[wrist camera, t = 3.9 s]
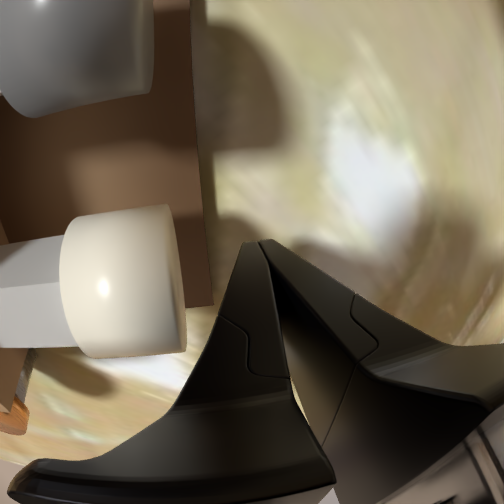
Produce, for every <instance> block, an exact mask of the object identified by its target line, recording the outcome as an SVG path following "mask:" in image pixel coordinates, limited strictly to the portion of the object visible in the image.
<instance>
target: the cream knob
mask: <svg viewBox="0 0 504 504" xmlns="http://www.w3.org/2000/svg"><path fill="white" fill-rule="evenodd" d="M76 346H79V348H80V349H81V350H82V351H83V352H84V353H85V354H86V355H87V356H89V357H90V358H94V359H101V358H119V357H135V356H148V355H160V354H171V353H181V352H185V351H186V347H187V327H186V313H185V302H184V292H183V283H182V275H181V267H180V259H179V252H178V246H177V239H176V234H175V228H174V223H173V218H172V214H171V211H170V208H169V206H168V204H163V205H155V206H147V207H140V208H133V209H125V210H119V211H112V212H105V213H99V214H92V215H86V216H80V217H76V218H75V219H73V220H72V221H71V223H70V224H69V226H68V228H67V230H66V232H65V235H60V236H53V237H47V238H41V239H35V240H29V241H23V242H17V243H12V244H6V245H0V348H45V347H76Z"/></svg>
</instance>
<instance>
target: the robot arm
mask: <svg viewBox="0 0 504 504" xmlns="http://www.w3.org/2000/svg"><path fill="white" fill-rule="evenodd" d="M289 372H290V374H289ZM290 375H291V378H292V380H293V383H294V386H295V388H296V391H297V393H298V396H299V399H300V401H301V404H302V407H303V409H304V412H305V415H306V417H307V420H308V422H309V424H308V422H307V420H306V419H305V417H304V415H303V413H302V411H301V410H300V408H299V406H298V404H297V402H296V400H295V397H294V394H293V390H292V385H291V381H290ZM309 425H310V426H309ZM332 488H334V490H335V493H336V495H337V498H338V501H339V503H340V504H504V343H503V344H491V345H478V346H454V345H449V344H446V343H443V342H441V341H439V340H437V339H435V338H433V337H431V336H429V335H427V334H425V333H424V332H422V331H420V330H418V329H416V328H414V327H412V326H411V325H409V324H407V323H405V322H403V321H401V320H399V319H398V318H396V317H394V316H392V315H391V314H389V313H387V312H385V311H384V310H382V309H380V308H379V307H377V306H375V305H374V304H372V303H371V302H369V301H367V300H366V299H364V298H363V297H361V296H360V295H358V294H355V292H354V291H352V290H351V289H349V288H348V287H346V286H344V285H343V284H341V283H340V282H338V281H337V280H335V279H334V278H332V277H331V276H329V275H328V274H326V273H325V272H323V271H321V270H320V269H318V268H317V267H315V266H314V265H312V264H311V263H309V262H308V261H306V260H305V259H303V258H301V257H300V256H298V255H297V254H295V253H294V252H292V251H291V250H289V249H287V248H286V247H284V246H283V245H281V244H280V243H278V242H276V241H275V240H273V239H266V240H260V241H258V242H257V241H250V242H244V243H242V246H241V249H240V251H239V254H238V257H237V260H236V263H235V266H234V269H233V272H232V274H231V277H230V280H229V283H228V286H227V289H226V292H225V295H224V298H223V301H222V303H221V306H220V309H219V312H218V316H217V317H216V320H215V323H214V326H213V329H212V331H211V334H210V336H209V339H208V341H207V343H206V345H205V347H204V349H203V352H202V354H201V356H200V358H199V359H198V361H197V363H196V365H195V367H194V368H193V370H192V372H191V374H190V376H189V378H188V379H187V381H186V383H185V385H184V387H183V389H182V390H181V392H180V394H179V396H178V397H177V399H176V401H175V402H174V404H173V405H172V407H171V408H170V409H169V410H168V412H167V413H166V414H165V415H164V416H162V417H161V418H160V419H158V420H157V421H155V422H154V423H152V424H151V425H149V426H148V427H146V428H145V429H143V430H142V431H140V432H139V433H137V434H136V435H134V436H133V437H131V438H130V439H128V440H127V441H125V442H123V443H122V444H120V445H119V446H117V447H116V448H114V449H112V450H111V451H109V452H107V453H105V454H103V455H101V456H98V457H95V458H92V459H87V460H81V461H68V460H59V459H48V458H43V459H36V460H34V461H32V462H31V463H29V464H28V465H27V466H26V467H24V468H23V469H22V470H21V471H19V472H18V473H17V474H16V476H15V477H14V478H13V480H12V481H11V482H10V485H9V487H8V490H7V494H8V496H9V497H10V498H12V499H13V500H15V501H17V502H18V503H20V504H318V503H319V502H320V501H321V500H322V499H323V498H324V497H325V496H326V495H327V493H328V492H329V491H330V490H331V489H332Z"/></svg>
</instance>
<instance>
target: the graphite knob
mask: <svg viewBox="0 0 504 504" xmlns="http://www.w3.org/2000/svg"><path fill="white" fill-rule="evenodd" d="M153 70H154V12H153V0H0V96H2V95H3V96H4V97H5V98H6V100H7V101H8V103H9V104H10V105H11V106H12V107H13V108H14V109H15V110H16V111H18V112H19V113H20V114H22V115H24V116H26V117H30V118H38V117H42V116H45V115H49V114H52V113H56V112H60V111H63V110H67V109H71V108H75V107H79V106H84V105H88V104H93V103H97V102H102V101H107V100H112V99H117V98H123V97H128V96H134V95H140V94H147V93H149V92H150V89H151V86H152V80H153Z"/></svg>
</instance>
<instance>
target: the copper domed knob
mask: <svg viewBox="0 0 504 504" xmlns="http://www.w3.org/2000/svg"><path fill="white" fill-rule="evenodd" d="M35 359H36V351H35V349H34V348H28V351H27V355H26V358H25V361H24V364H23V367H22V371H21V374H20V378H19V381H18V385H17V388H16V392H15V396H14V400H13V404H12V408H11V412H10V413H8V412H0V431H2V432H5V433H8V434H12V435H24V434H25V433H26V430H27V424H28V419H29V410H28V408H27V407H26V406H25V404H24V401H25V397H26V392H27V388H28V385H29V381H30V377H31V373H32V370H33V366H34V363H35Z"/></svg>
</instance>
